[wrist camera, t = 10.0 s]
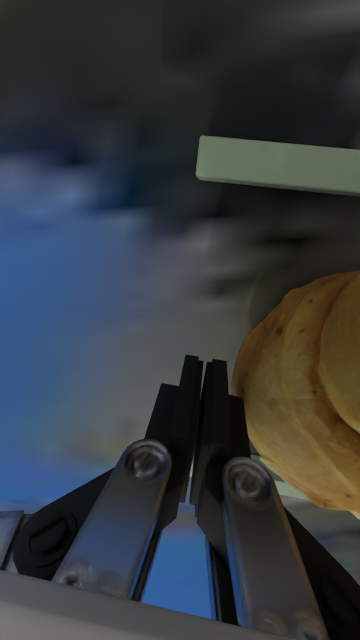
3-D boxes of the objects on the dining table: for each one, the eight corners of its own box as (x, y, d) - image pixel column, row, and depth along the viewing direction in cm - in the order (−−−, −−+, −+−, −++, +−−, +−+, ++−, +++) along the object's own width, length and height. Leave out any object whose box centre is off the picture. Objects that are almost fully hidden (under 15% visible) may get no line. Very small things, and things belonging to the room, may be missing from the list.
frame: (201, 144, 10) (199, 134, 8) (719, 192, 8) (816, 191, 7) (166, 450, 17) (162, 471, 16) (436, 501, 16) (456, 529, 14)
